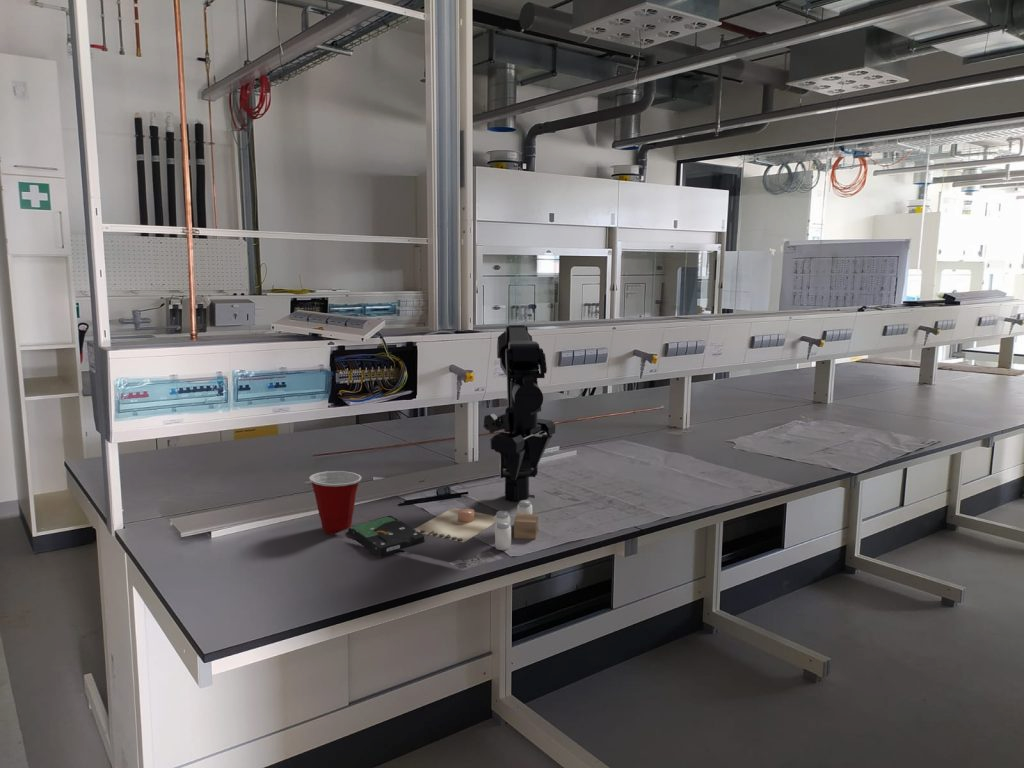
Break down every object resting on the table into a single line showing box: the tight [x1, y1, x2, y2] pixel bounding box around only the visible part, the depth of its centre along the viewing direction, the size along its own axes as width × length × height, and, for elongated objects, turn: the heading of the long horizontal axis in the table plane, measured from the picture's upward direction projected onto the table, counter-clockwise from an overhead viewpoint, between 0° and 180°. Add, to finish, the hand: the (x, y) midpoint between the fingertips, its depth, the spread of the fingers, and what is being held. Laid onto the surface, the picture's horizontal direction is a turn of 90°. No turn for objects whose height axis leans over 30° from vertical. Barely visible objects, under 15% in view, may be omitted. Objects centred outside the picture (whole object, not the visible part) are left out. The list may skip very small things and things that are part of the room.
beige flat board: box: [413, 507, 495, 544], centre depth 156 cm, size 16×13×1 cm
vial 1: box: [494, 510, 511, 527], centre depth 149 cm, size 3×3×6 cm
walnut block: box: [513, 512, 539, 540], centre depth 150 cm, size 4×4×4 cm
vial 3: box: [516, 499, 533, 514], centre depth 155 cm, size 3×3×6 cm
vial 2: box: [494, 521, 512, 551], centre depth 143 cm, size 3×3×6 cm
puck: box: [458, 507, 475, 523], centre depth 158 cm, size 4×4×2 cm
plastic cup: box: [308, 470, 362, 535], centre depth 154 cm, size 11×11×12 cm
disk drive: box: [348, 515, 426, 559], centre depth 149 cm, size 10×3×15 cm
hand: (524, 473), depth 154 cm, fingers open, 9 cm apart
